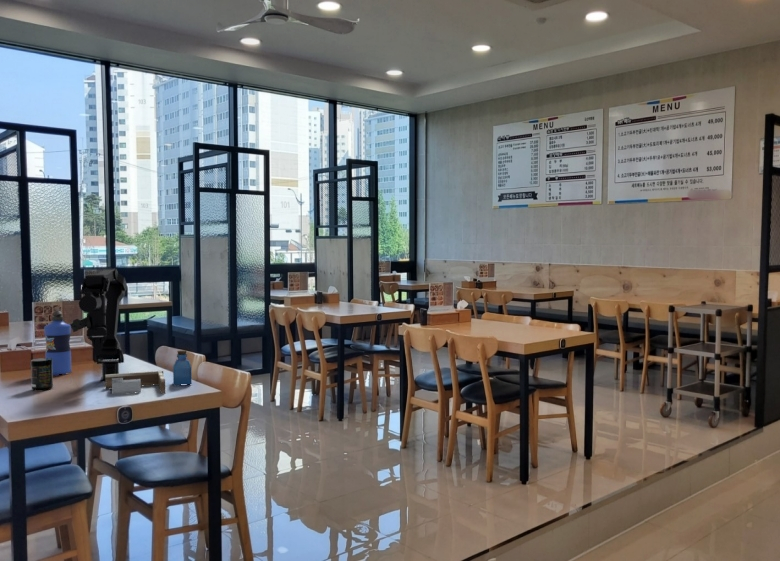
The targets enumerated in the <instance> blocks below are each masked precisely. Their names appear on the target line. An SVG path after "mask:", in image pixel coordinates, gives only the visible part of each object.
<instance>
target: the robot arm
mask: <svg viewBox="0 0 780 561" xmlns="http://www.w3.org/2000/svg"><path fill="white" fill-rule="evenodd" d="M127 289H128V285H127V281H126V278H125V277H124V275H122V274H121V273H119V271H118V269H117V268H104V269H102V270H101V271H99V272H98V273H96V274H90V273H89V274H86V275H85V276H84V277H83V280H82V285H81V290H80V294H81V295H84V296H82V297H81V298H80V299H79V301H78V307H79V309H80V310H81V311H83V312H85V313H86V317H83V318H80V319H79V318H75V319H73V321H71V322H70V323H69V325H70V326H71V331H72V332H73V333H75V332H78V331H79V330H82V329H84V328H86V338H87V339H88V340H89V341H91V343H92V347H93V352H94V355H95V359H96V364H97V365H100V364H101V372H102V374H101V375H102V376H101V378H100V380H101V381H102V382H103V381H105V382H106V380H105V375H108V374H120V369H119V364H122V363H125V358H124V357H125V356H124V352H123V350H122V347H121V343H120V342H119V340H118V338H117V335H118V323H119V313H120V312H119V311H120V302H121V301H122V300H123V299H124V298H125V294H126V291H127Z"/></svg>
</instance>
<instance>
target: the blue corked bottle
mask: <svg viewBox="0 0 780 561" xmlns="http://www.w3.org/2000/svg"><path fill="white" fill-rule="evenodd" d="M187 357H188V354H187V350H178V351H177V354H176V358H177V359H176V360H175V361H174V364H173V366H172V372H173V373H172V374H173V375H172V377H173V379H172V380H173V381H172V382H173V383H172V384H173V385H181V384H192V364H191V362H190V360H189V359H188V358H187Z"/></svg>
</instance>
